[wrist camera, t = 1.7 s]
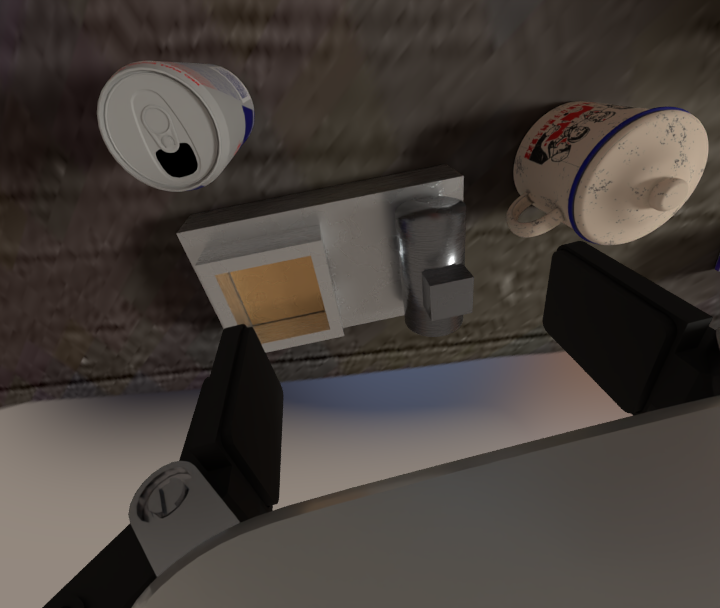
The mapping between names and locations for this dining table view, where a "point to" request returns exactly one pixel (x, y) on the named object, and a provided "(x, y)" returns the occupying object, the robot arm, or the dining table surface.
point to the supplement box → (718, 264)
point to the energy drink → (174, 121)
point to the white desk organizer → (338, 258)
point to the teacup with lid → (607, 170)
